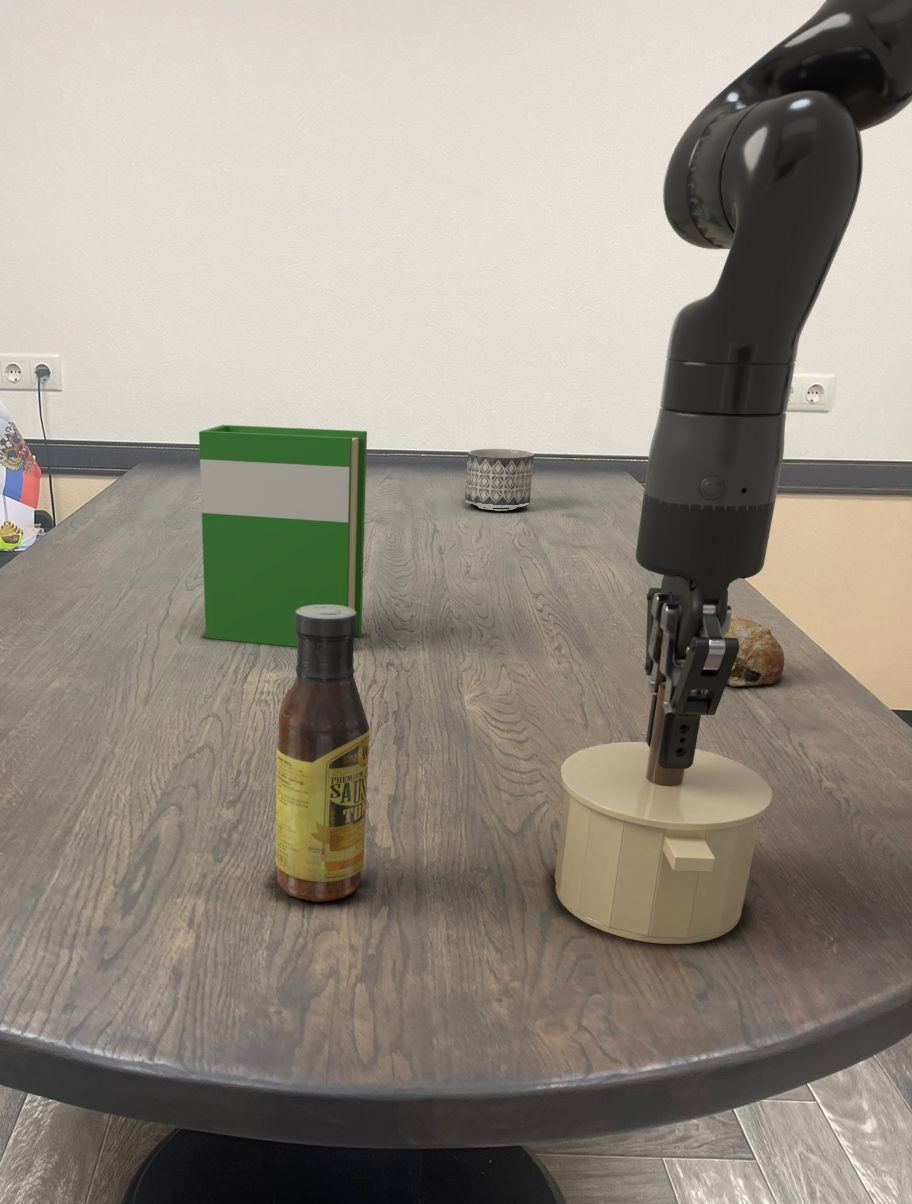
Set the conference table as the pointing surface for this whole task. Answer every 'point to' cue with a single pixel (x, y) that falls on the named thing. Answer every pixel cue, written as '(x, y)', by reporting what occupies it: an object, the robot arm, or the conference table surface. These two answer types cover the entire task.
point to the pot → (652, 876)
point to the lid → (665, 785)
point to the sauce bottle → (322, 762)
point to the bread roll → (754, 654)
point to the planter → (499, 476)
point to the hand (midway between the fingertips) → (668, 756)
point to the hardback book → (280, 527)
